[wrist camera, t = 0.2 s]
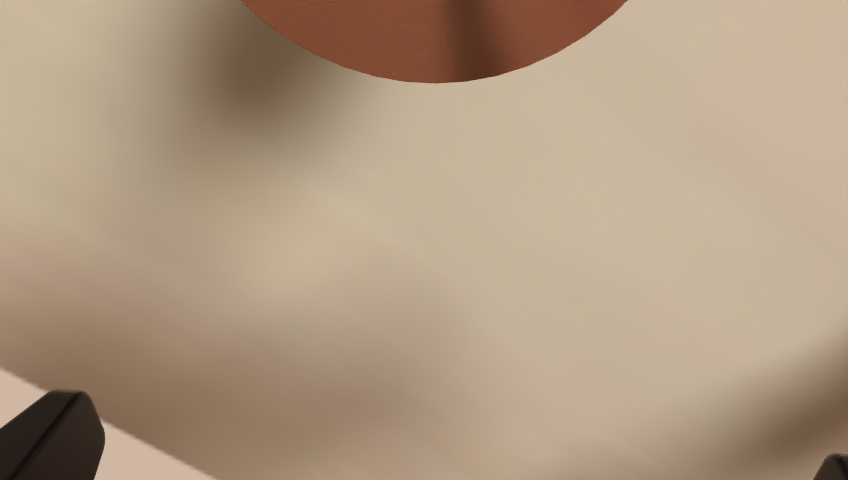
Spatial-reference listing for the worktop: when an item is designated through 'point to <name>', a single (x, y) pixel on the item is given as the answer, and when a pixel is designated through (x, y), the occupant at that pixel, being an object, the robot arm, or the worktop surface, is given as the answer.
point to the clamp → (434, 33)
